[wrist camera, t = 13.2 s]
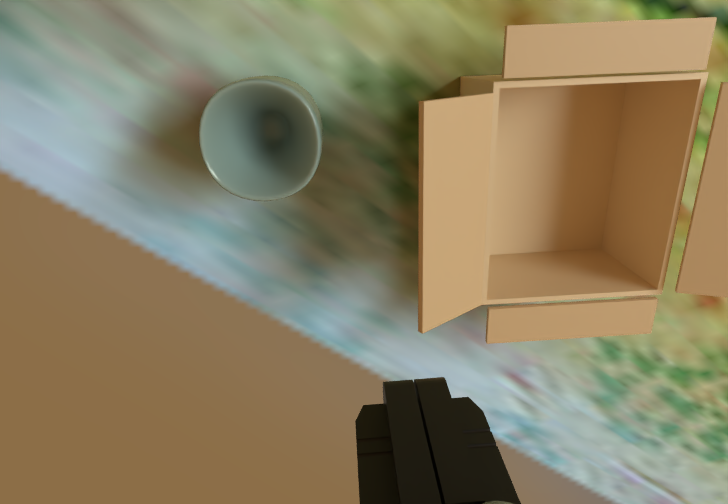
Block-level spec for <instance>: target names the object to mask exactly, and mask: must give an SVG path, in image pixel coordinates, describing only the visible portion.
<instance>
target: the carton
mask: <svg viewBox="0 0 728 504" xmlns="http://www.w3.org/2000/svg"><path fill="white" fill-rule="evenodd" d="M716 19H717V17H710V18H686V19H661V20H637V21H613V22H588V23H564V24H539V25H515V26H505V36H504V52H503V68H502V75H481V76H461V77H460V96H467V95H476V94H484V93H494V96H493V113H492V131H491V148H490V166H489V183H488V201H487V218H486V236H485V253H484V271H483V289H482V305H490V304H506V303H523V302H539V301H556V300H572V299H589V298H606V297H622V296H639V295H655V294H662V291H663V286H664V281H665V276H666V272H667V267H668V262H669V257H670V253H671V248H672V243H673V238H674V234H675V229H676V224H677V219H678V215H679V210H680V205H681V200H682V196H683V191H684V186H685V181H686V177H687V172H688V167H689V162H690V158H691V153H692V148H693V144H694V139H695V134H696V129H697V125H698V120H699V115H700V110H701V106H702V101H703V96H704V91H705V87H706V82H707V77H708V72H691V71H682V70H705V69H706V67H707V62H708V58H709V53H710V48H711V43H712V38H713V34H714V29H715V24H716ZM657 302H658V299H657V298H656V297H644V298H627V299H611V300H594V301H578V302H561V303H545V304H528V305H512V306H495V307H488V309H487V325H486V343H487V344H489V343H505V342H521V341H537V340H553V339H568V338H584V337H600V336H616V335H632V334H647V333H651V331H652V326H653V321H654V316H655V312H656V307H657Z"/></svg>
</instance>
